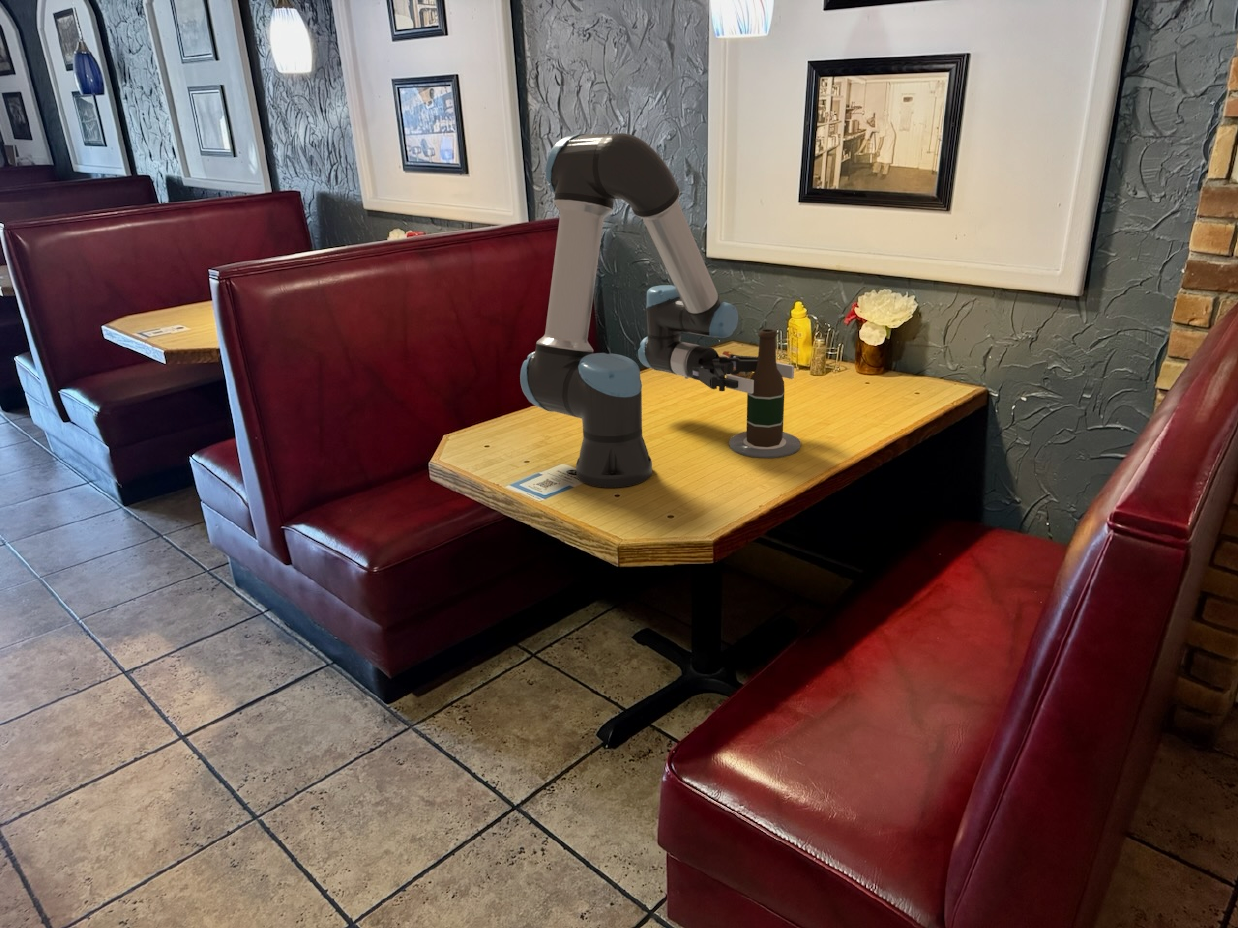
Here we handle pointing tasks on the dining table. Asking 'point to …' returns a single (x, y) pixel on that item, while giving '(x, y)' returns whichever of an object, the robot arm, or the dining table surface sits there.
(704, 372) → the robot arm
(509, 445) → the dining table surface
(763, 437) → the beer bottle
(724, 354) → the food
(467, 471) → the dining table surface
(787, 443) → the slate coaster
